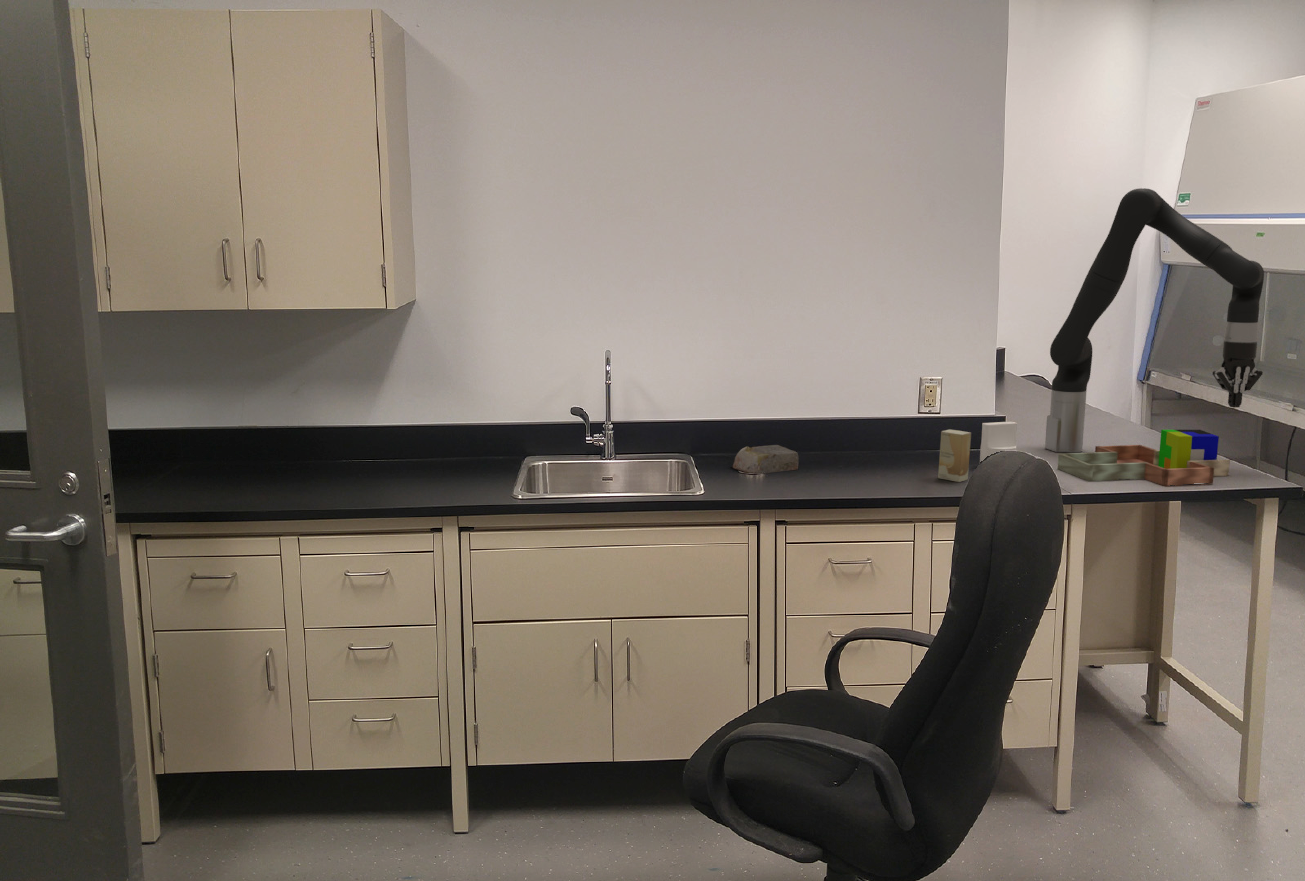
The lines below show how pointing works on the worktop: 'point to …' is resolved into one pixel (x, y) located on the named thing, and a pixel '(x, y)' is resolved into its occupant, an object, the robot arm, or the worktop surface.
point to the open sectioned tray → (1137, 466)
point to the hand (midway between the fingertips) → (1234, 406)
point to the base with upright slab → (997, 438)
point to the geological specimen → (766, 459)
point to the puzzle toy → (1186, 447)
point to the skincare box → (954, 455)
